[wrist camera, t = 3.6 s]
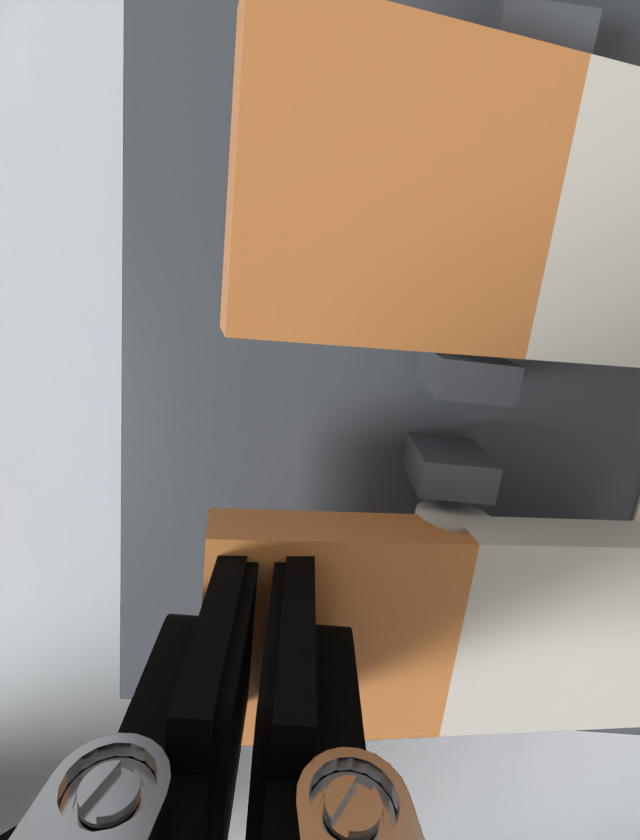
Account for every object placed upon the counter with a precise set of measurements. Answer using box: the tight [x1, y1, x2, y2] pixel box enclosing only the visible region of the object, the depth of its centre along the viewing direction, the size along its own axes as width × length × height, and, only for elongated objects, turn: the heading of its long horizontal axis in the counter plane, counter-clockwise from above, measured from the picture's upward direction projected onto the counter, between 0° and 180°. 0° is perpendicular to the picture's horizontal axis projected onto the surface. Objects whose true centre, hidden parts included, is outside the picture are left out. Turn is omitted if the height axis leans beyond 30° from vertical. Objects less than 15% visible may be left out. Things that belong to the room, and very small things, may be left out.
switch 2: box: [202, 500, 640, 746], centre depth 11 cm, size 4×10×2 cm, turn 84°
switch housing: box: [120, 0, 640, 735], centre depth 12 cm, size 26×15×5 cm, turn 174°
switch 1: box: [220, 0, 640, 368], centre depth 9 cm, size 4×10×2 cm, turn 84°
